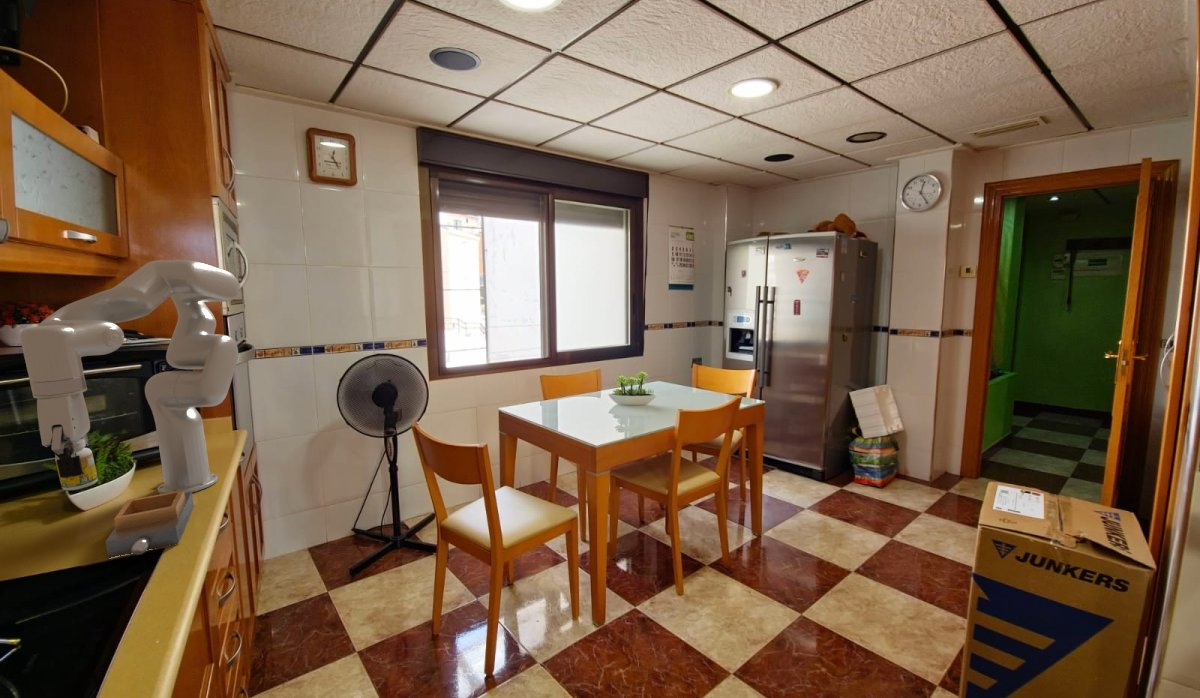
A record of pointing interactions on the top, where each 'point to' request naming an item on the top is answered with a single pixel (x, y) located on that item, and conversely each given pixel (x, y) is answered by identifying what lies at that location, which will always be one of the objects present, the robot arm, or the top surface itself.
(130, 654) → the top surface
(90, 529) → the top surface
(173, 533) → the gray brown rimmed box
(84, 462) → the supplement bottle
